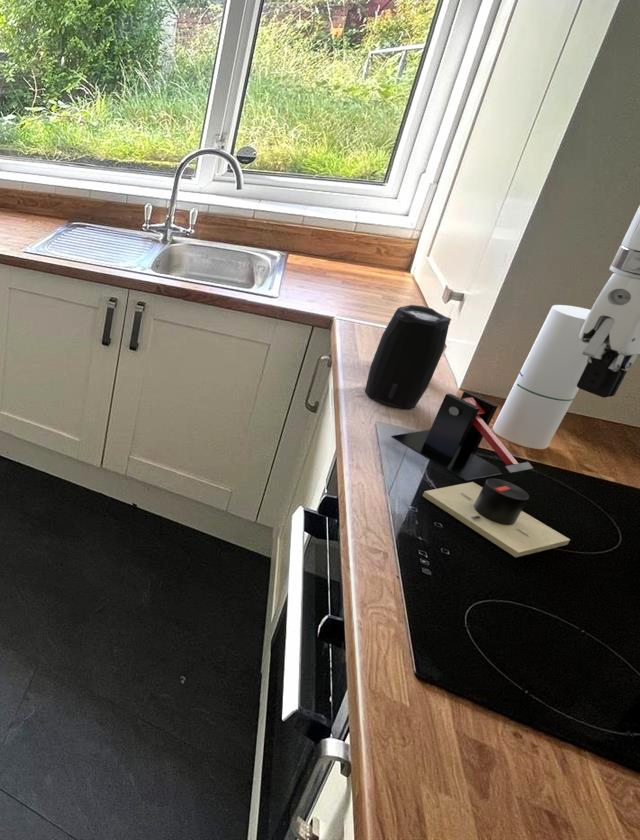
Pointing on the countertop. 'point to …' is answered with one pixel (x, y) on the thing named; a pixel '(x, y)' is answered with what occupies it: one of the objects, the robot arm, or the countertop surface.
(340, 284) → the countertop surface
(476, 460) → the black lever stand
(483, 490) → the knob
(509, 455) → the lever
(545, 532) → the panel
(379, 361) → the portable speaker
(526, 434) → the cylindrical container
